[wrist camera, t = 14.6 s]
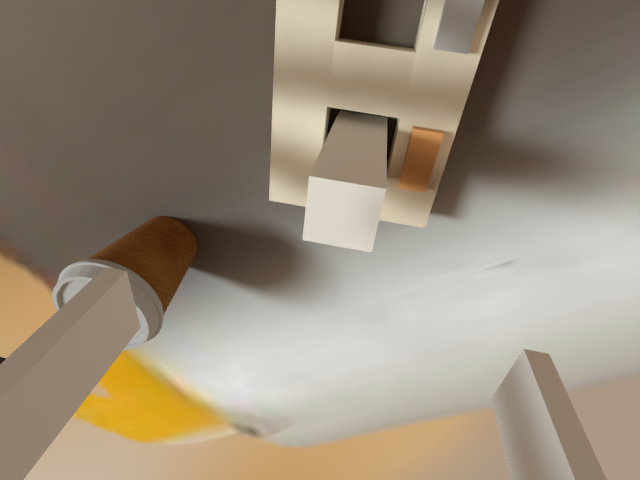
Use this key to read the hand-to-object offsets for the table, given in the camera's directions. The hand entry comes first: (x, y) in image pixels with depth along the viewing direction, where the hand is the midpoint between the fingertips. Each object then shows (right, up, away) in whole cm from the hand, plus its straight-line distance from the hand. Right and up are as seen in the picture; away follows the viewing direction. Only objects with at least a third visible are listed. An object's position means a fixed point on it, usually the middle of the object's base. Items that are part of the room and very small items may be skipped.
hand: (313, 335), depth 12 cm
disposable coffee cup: (-17, +3, +29) cm, 33 cm away
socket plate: (+4, +16, +16) cm, 23 cm away
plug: (+4, +12, +19) cm, 23 cm away
